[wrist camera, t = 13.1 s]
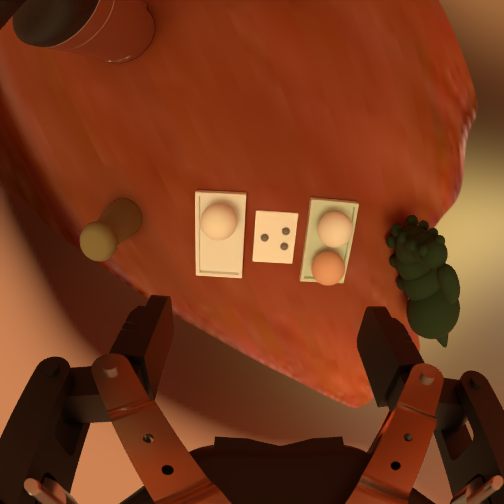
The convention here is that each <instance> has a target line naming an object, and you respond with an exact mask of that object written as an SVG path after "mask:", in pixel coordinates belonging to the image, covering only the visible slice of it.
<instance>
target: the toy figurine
mask: <svg viewBox="0 0 504 504" xmlns="http://www.w3.org/2000/svg"><path fill="white" fill-rule="evenodd" d="M406 223H407V226H405V227H403V228H402V227H401V225H399V224H394V225H393V226H392V228H391V233H392V234H393V235H391V236H389V237H388V238H387V239H386V243H387V245H388V247H390V248H395V254H396V255H393V256H391V258H390V265H391V266H392V267H394V268H396V270H397V272H398V273H399V274H400V276H401V277H399V278H398V280H397V287H398V288H399V289H400V290H403V291H404V292H405V294H406V296H407V297H408V298H409V300H408V303H407V318H408V322H409V324H410V326H411V328H412V330H413V331H414V332H415V333H416V334H418V335H420V336H422V337H424V338H428V339H437V340H438V342H439V343H440V344H441V345H442V346H443V347H446V346H447V341H448V333H449V332H450V331H451V330H452V329H453V327H454V326H455V325H456V323H457V320H458V317H459V312H460V304H459V300H458V298H459V294H460V285H459V280H458V277H457V274H456V272H455V270H454V269H453V268H452V267H451V266H450V265H448V264H446V263H445V262H446V260H447V248H446V246H445V245H444V244H445V238H444V237H443V236H441V235H438V231H437V229H435V228H430V229H429V230H428V228H429V224H428V222H427V221H424V220H422V221H420V222H419V226H418V225H417V224H418V219H417V217H416V216H414V215H410V216H409V217H407V220H406ZM427 230H428V231H427Z"/></svg>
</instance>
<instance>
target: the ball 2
mask: <svg viewBox="0 0 504 504" xmlns="http://www.w3.org/2000/svg"><path fill="white" fill-rule="evenodd" d="M317 232H318V236H319V238H320V240H321V241H322V242H323V243H324V244H325V245H327V246H329V247H341V246H343V245H345V244H346V243H347V242H348V241H349V240H350V238H351V236H352V233H353V226H352V223H351V221H350V219H349V218H348V217H347V216H346V215H345V214H343V213H341V212H337V211H333V212H329V213H327V214H325V215H324V216H322V218H321V219H320V221H319V223H318V226H317Z"/></svg>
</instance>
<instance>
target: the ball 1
mask: <svg viewBox="0 0 504 504" xmlns="http://www.w3.org/2000/svg"><path fill="white" fill-rule="evenodd" d="M200 226H201V229H202V231H203V233H204V234H205V235H206V236H207V237H209V238H210V239H213V240H224V239H227V238H229V237H230V236H231V235H232V234H233V233H234V231H235V229H236V226H237V217H236V214H235V212H234V211H233V210H232V209H231V208H230V207H229V206H227V205H225V204H221V203H216V204H212V205H210V206H208V207H207V208H206V209H205V210H204V211H203V213H202V215H201V218H200Z"/></svg>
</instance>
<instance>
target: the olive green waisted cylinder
mask: <svg viewBox="0 0 504 504" xmlns="http://www.w3.org/2000/svg"><path fill="white" fill-rule="evenodd" d="M141 223H142V214H141V212H140V209H139V208H138V206H137V205H136V204H135V203H134V202H132V201H131V200H128V199H125V198H120V199H117V200H114V201H113V202H112V203H111V204H110V205H109V206H108V208H107V209H106V210H105V211H104V213H103V214H102V215H101V216H100V218H99V219H98V220H97V221H95V222H92V223H89V224H88V225H87V226H86V227H85V228H84V229H83V231H82V233H81V235H80V245H81V249H82V251H83V253H84V254H85V255H86V256H87V257H88V258H90V259H92V260H94V261H104V260H107V259H109V258H110V257H111V256H112V255H113V254H114V252H115V251H116V249H117V245H118V244H120V243H121V242H122V241H124V240H125V239H127V238H128V237H130V236H131V235H133V234H134V233H135V232H137V231H138V230H139V228H140V226H141Z"/></svg>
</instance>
